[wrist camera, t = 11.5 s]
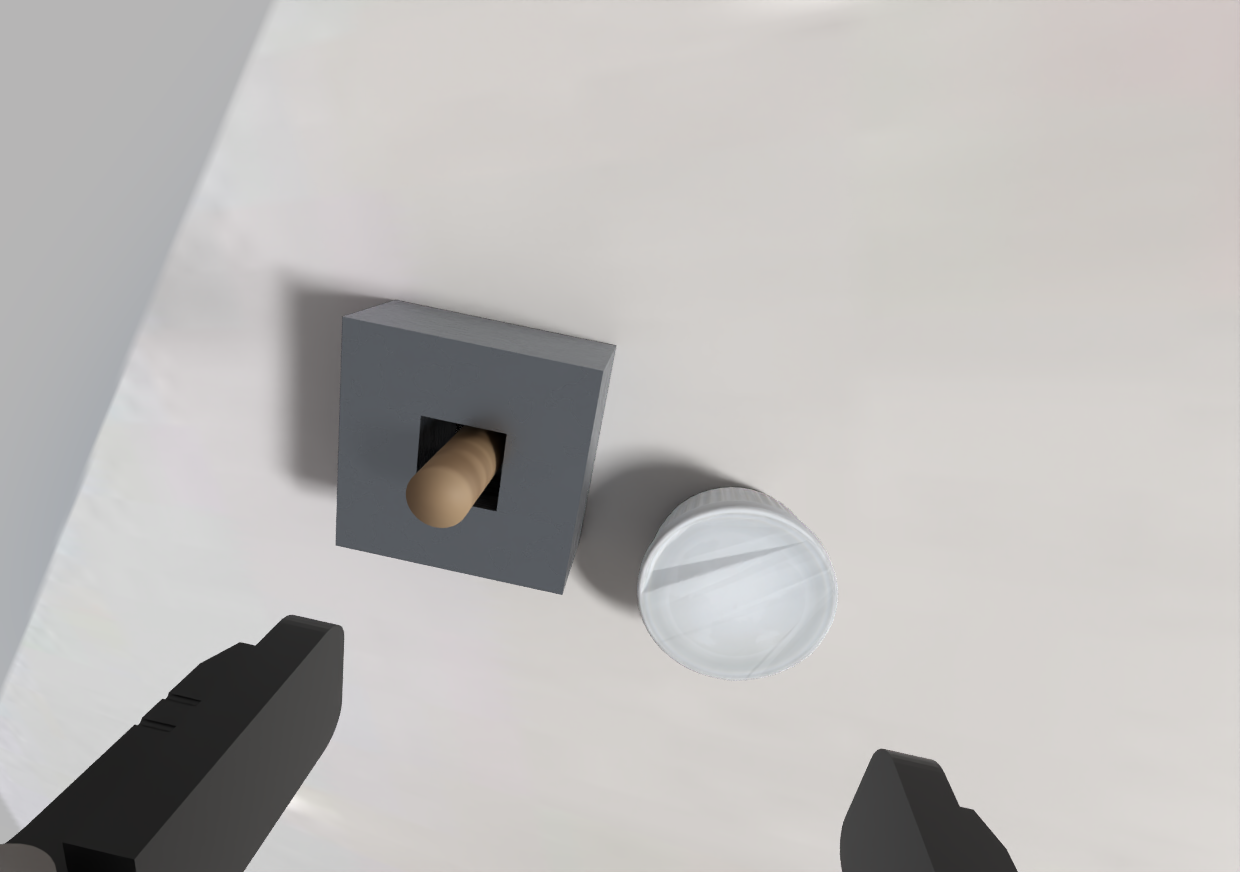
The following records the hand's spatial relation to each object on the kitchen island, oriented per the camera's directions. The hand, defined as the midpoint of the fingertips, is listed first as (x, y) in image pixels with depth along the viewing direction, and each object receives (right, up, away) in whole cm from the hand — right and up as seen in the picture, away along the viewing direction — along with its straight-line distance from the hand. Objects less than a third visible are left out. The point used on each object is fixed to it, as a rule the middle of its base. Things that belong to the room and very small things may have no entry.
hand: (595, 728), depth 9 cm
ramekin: (+7, -3, +31) cm, 32 cm away
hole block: (-7, +5, +29) cm, 30 cm away
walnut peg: (-7, +5, +29) cm, 30 cm away
